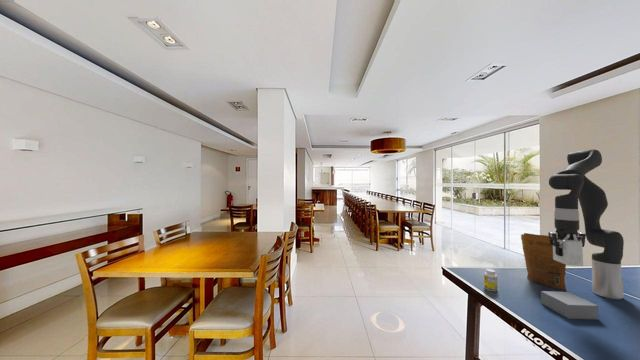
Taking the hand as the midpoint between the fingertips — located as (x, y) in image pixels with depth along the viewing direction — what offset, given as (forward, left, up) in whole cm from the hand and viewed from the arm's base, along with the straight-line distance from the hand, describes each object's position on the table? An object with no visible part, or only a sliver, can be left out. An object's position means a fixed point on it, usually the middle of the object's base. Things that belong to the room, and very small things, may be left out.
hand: (567, 255), depth 100 cm
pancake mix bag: (-15, -27, -25) cm, 39 cm away
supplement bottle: (+20, -19, -25) cm, 37 cm away
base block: (0, 0, -25) cm, 25 cm away
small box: (0, 0, -3) cm, 3 cm away
